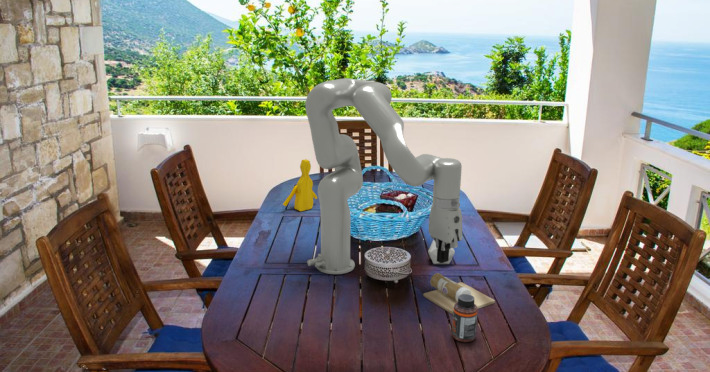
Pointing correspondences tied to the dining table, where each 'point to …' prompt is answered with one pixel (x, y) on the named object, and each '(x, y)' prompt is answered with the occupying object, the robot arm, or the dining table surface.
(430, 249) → the die
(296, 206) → the figure statuette
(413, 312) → the dining table surface
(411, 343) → the dining table surface
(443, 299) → the board
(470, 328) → the supplement bottle
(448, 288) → the sprinkles bottle
